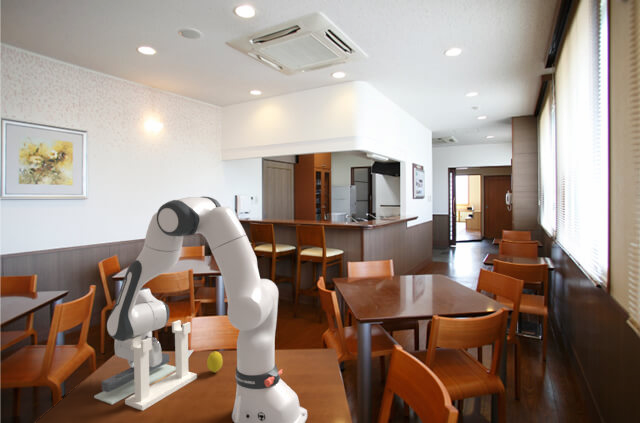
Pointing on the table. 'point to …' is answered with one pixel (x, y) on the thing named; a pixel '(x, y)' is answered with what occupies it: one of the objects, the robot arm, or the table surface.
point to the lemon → (214, 361)
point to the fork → (190, 352)
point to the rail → (127, 376)
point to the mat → (133, 385)
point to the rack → (168, 385)
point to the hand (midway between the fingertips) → (138, 372)
